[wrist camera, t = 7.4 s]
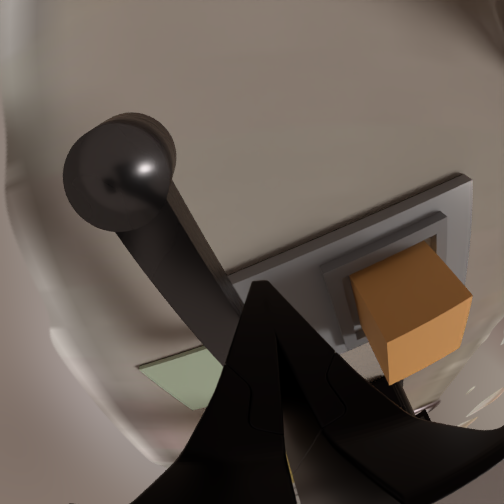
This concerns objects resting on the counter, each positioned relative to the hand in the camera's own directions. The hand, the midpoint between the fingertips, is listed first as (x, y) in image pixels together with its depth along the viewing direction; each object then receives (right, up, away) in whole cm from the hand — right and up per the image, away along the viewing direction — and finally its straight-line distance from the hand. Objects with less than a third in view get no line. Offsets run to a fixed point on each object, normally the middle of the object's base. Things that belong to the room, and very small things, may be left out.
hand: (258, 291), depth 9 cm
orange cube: (+10, -1, +12) cm, 16 cm away
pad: (-4, -10, +17) cm, 20 cm away
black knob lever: (-1, +1, +8) cm, 8 cm away
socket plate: (+8, -2, +13) cm, 15 cm away
